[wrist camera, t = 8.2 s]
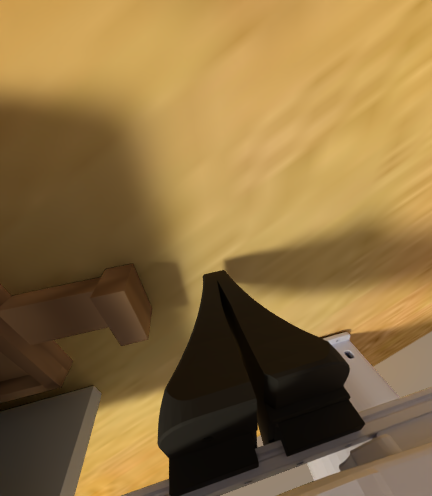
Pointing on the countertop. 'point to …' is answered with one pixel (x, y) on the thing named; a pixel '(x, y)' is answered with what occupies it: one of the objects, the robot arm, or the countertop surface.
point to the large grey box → (46, 444)
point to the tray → (65, 326)
